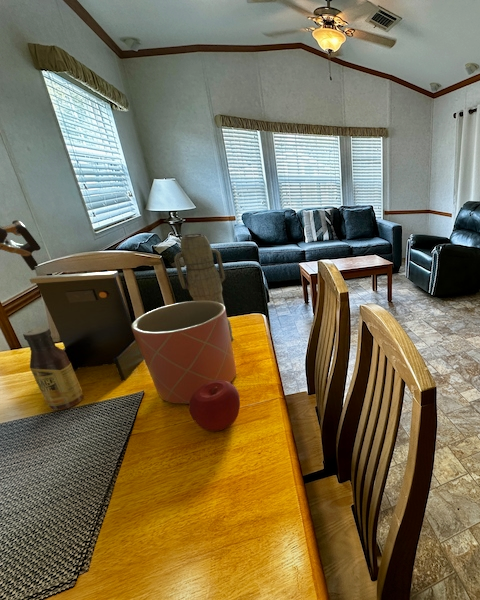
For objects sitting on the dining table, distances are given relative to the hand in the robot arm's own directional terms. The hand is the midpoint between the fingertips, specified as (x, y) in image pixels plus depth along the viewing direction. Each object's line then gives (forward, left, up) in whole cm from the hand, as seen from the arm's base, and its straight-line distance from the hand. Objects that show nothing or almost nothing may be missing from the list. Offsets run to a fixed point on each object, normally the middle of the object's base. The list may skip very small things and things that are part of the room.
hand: (4, 276), depth 66 cm
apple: (+17, -37, -33) cm, 53 cm away
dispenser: (+9, +10, -33) cm, 35 cm away
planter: (+22, -18, -33) cm, 44 cm away
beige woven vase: (+37, 0, -33) cm, 50 cm away
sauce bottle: (0, +1, -33) cm, 33 cm away
